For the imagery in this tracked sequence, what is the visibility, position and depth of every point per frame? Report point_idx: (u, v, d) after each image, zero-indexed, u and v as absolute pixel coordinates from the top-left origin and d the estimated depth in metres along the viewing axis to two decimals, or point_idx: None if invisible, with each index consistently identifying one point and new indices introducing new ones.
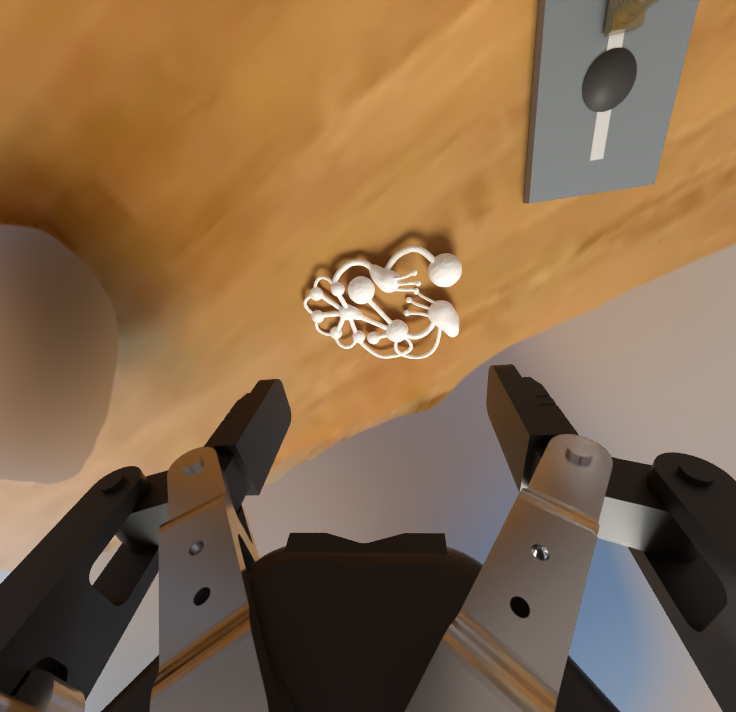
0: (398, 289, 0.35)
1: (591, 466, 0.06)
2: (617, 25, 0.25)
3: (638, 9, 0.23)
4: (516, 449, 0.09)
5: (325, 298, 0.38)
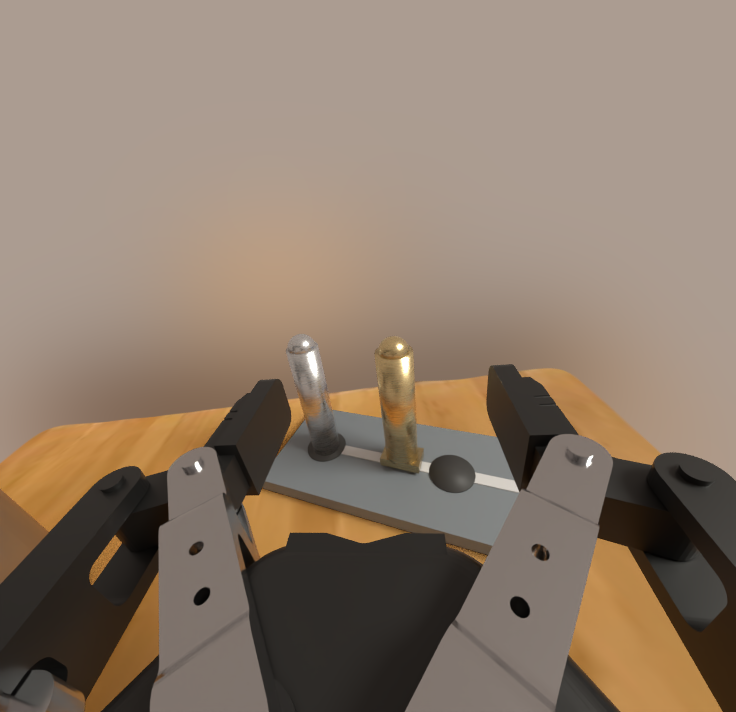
0: None
1: (591, 466, 0.06)
2: (416, 462, 0.30)
3: (415, 447, 0.29)
4: (516, 449, 0.09)
5: None
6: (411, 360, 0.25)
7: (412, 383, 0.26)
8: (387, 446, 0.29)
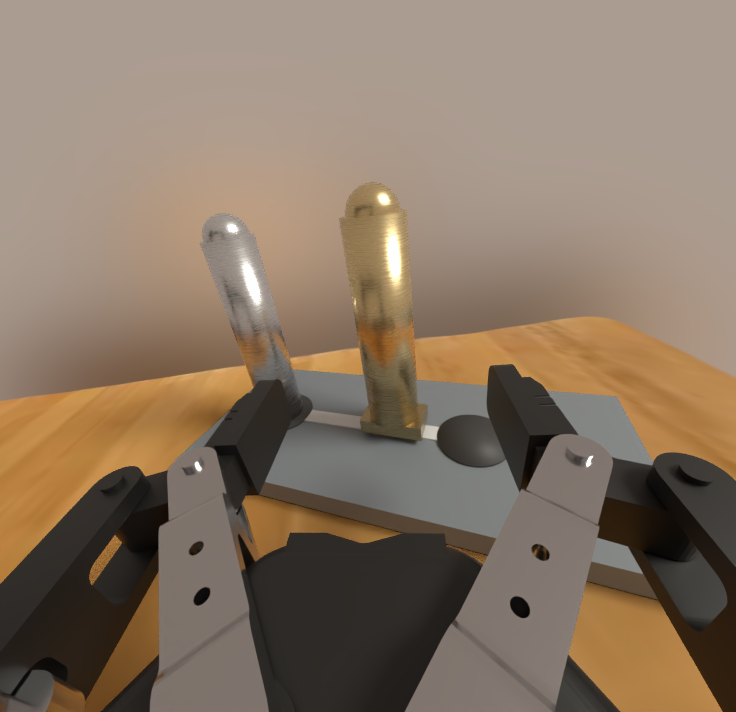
0: None
1: (591, 466, 0.06)
2: (417, 423, 0.19)
3: (414, 397, 0.18)
4: (516, 449, 0.09)
5: None
6: (404, 223, 0.14)
7: (407, 273, 0.15)
8: (370, 397, 0.18)
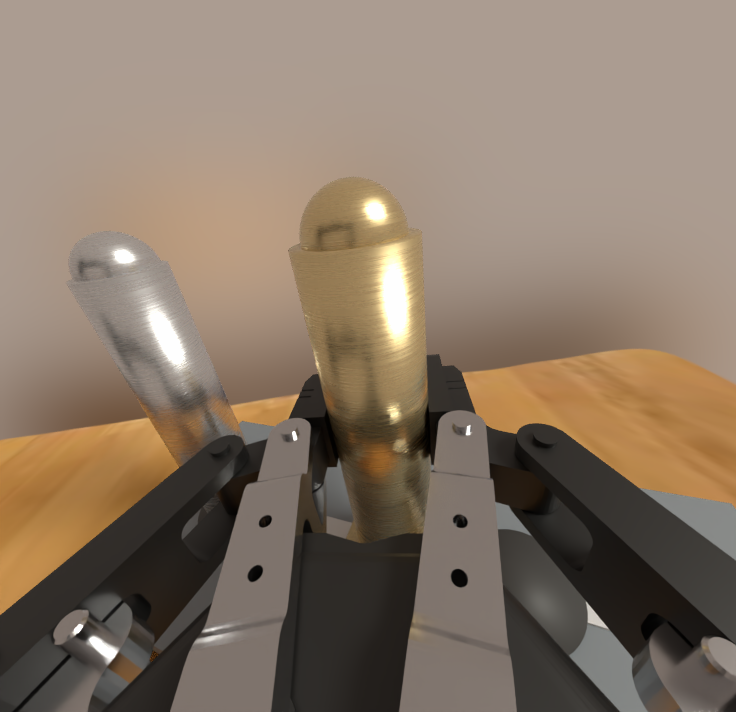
0: None
1: (466, 434, 0.08)
2: None
3: None
4: None
5: None
6: (417, 260, 0.07)
7: (421, 349, 0.08)
8: (357, 525, 0.11)
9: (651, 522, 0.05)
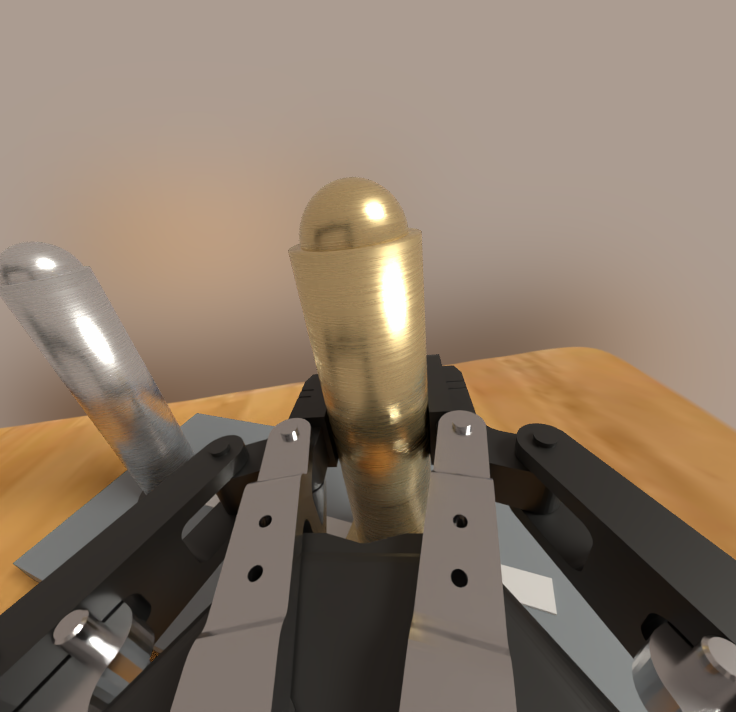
0: None
1: (466, 434, 0.08)
2: None
3: None
4: None
5: None
6: (417, 260, 0.07)
7: (420, 350, 0.08)
8: (357, 525, 0.11)
9: (651, 522, 0.05)
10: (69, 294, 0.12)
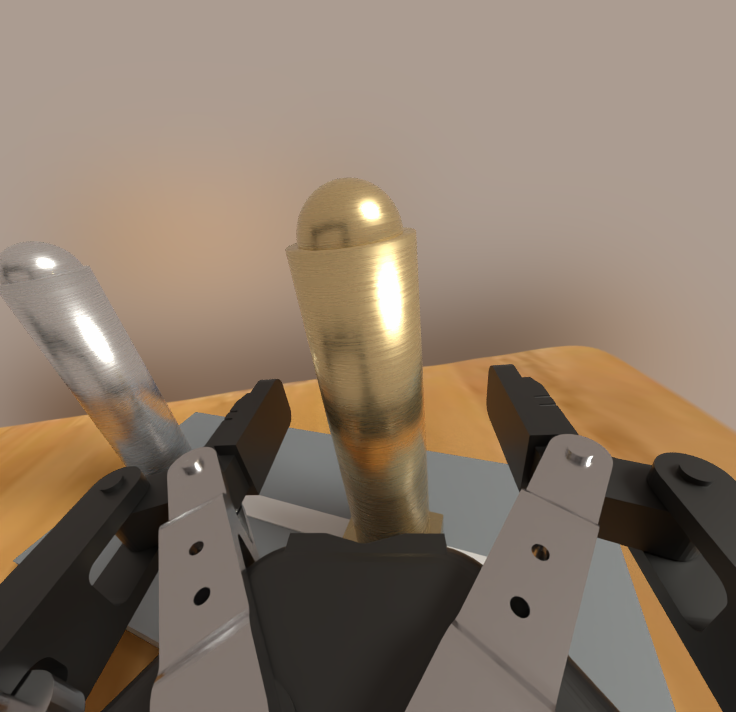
0: None
1: (591, 466, 0.06)
2: None
3: (424, 522, 0.12)
4: (516, 449, 0.09)
5: None
6: (411, 259, 0.07)
7: (415, 347, 0.08)
8: (354, 521, 0.12)
9: None
10: (69, 293, 0.12)
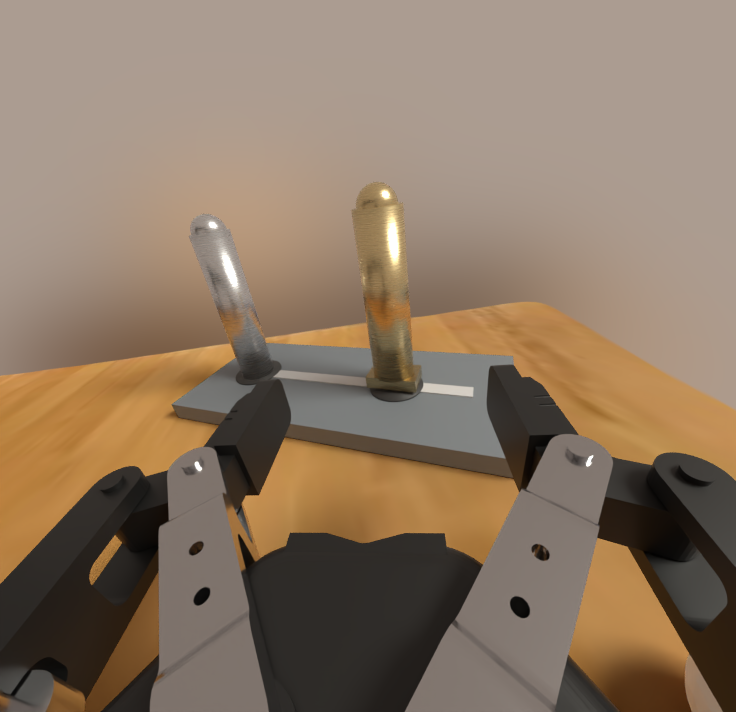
0: None
1: (591, 466, 0.06)
2: (412, 378, 0.23)
3: (410, 356, 0.23)
4: (516, 449, 0.09)
5: None
6: (401, 213, 0.18)
7: (403, 252, 0.19)
8: (374, 356, 0.23)
9: None
10: (224, 241, 0.23)
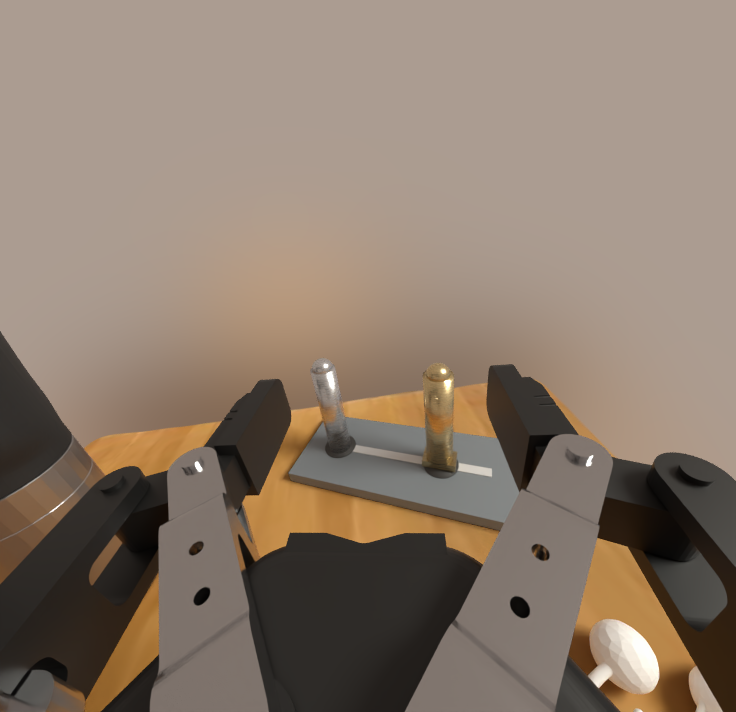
0: None
1: (591, 466, 0.06)
2: (453, 463, 0.36)
3: (452, 450, 0.36)
4: (516, 449, 0.09)
5: None
6: (453, 382, 0.31)
7: (452, 399, 0.32)
8: (429, 450, 0.36)
9: None
10: (333, 376, 0.37)
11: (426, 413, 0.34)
